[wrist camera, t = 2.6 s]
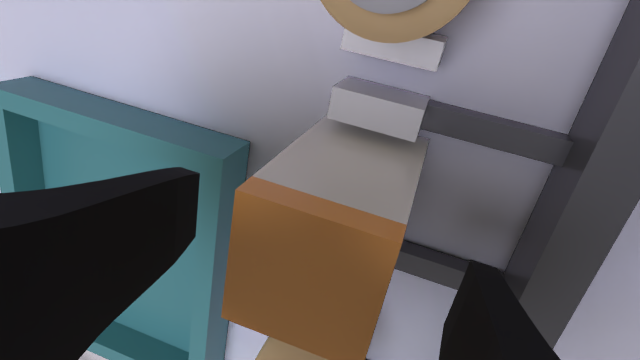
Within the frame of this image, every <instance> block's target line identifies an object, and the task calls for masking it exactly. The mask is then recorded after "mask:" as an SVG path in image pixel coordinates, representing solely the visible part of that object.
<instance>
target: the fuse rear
mask: <svg viewBox="0 0 640 360" xmlns="http://www.w3.org/2000/svg"><path fill="white" fill-rule="evenodd" d="M255 360H328V359H325V358H323V357H320V356H318V355H315V354H312V353H310V352H307V351H305V350H302V349H300V348H297V347H295V346H292V345H290V344H287V343H285V342H282V341H279V340H277V339H274V338H272V337H268V339H267V340H266V342H265V344H264V345H263V347H262V349H261V350H260V352H259V354H258V355H257V357H256V359H255Z"/></svg>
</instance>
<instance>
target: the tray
mask: <svg viewBox="0 0 640 360" xmlns="http://www.w3.org/2000/svg"><path fill="white" fill-rule="evenodd" d="M249 146H250V142H249V141H246V140H243V139H239V138H236V137H233V136H229V135H226V134H223V133H219V132H216V131H213V130H209V129H206V128H203V127H199V126H196V125H192V124H189V123H186V122H182V121H179V120H176V119H172V118H169V117H166V116H162V115H159V114H156V113H152V112H149V111H146V110H142V109H139V108H136V107H132V106H129V105H126V104H122V103H119V102H116V101H112V100H109V99H106V98H102V97H99V96H96V95H92V94H89V93H86V92H82V91H79V90H76V89H72V88H69V87H66V86H62V85H59V84H56V83H52V82H49V81H46V80H42V79H39V78H36V77H32V76H29V77H24V78H18V79H12V80H7V81H1V82H0V189H1V193H9V192H20V191H31V190H40V189H49V188H56V187H63V186H69V185H75V184H81V183H87V182H93V181H100V180H105V179H110V178H115V177H121V176H126V175H131V174H136V173H141V172H147V171H152V170H158V169H164V168H172V167H182V168H185V169H188V170H192V171H195V172H198V173H200V181H199V196H198V210H197V225H196V237H195V238H194V240H193V241H192V242H191V244H190V245H189V246H188V247H187V249H186V250H185V251H184V253H183V254H182V255H181V256H180V257H179V259H178V260H177V261H176V262H175V264H174V265H173V266H172V267H170V268H169V269H168V270H167V271H166V272H165V273H164V274H163V275H162V276H161V277H160V278H159V279H158V280H157V281H156V282H155V283H154V284H153V285H152V286H151V287H149V288H148V289H147V290H146V291H145V292H144V293H143V294H142V295H141V296H140V297H139V298H138V299H137V300H136V301H134V302H133V303H132V304H131V305H130V306H129V307H128V308H127V309H126V310H125V311H124V312H123V313H122V314H120V315H119V316H118V317H117V318H116V319H115V320H114V321H113V322H112V323H111V324H110V325H109V326H108V327H107V328H106V329H105V330H104V331H103V332H102V333H101V334H100V335H99V336H98V337H97V339H96V340H95V341H94V342H93V343H92V344H91V345H90V347H89V348H88V349H87V350H88V351H90V352H93V353H95V354H97V355H99V356H102V357H104V358H106V359H109V360H224V354H225V346H226V338H227V329H228V321H229V320H226V319H224V318H221V313H222V304H223V295H224V286H225V278H226V269H227V260H228V251H229V242H230V233H231V224H232V215H233V206H234V197H235V189H237V188H238V187H239V186H240V185H241V184H243V183H244V182H245V179H246V171H247V163H248V154H249Z"/></svg>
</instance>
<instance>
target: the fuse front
mask: <svg viewBox="0 0 640 360" xmlns="http://www.w3.org/2000/svg"><path fill="white" fill-rule="evenodd" d="M469 1H470V0H321V2H322V4H323V5H324V7H325V8H326V10H327V11H328V12H329V14H330V15H331V16H332V17H333V18H334V19H335V20H336V21H337V22H338V23H339V24H340V25H342V26H343V27H344V28H345V29H347V30H348V31H350V32H352V33H353V34H355V35H357V36H359V37H362V38H364V39H367V40H371V41H375V42H381V43H402V42H408V41H412V40H416V39H419V38H422V37H424V36H427V35H429V34H431V33H433V32H435V31H437V30H438V29H440V28H442V27H443V26H444V25H446V24H447V23H448V22H450V21H451V20H452V19H453V18H454V17H455V16H456V15H458V14H459V13H460V12H461V10H462V9H463V8H464V7H465V6H466V5H467V3H468V2H469Z"/></svg>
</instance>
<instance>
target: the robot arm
mask: <svg viewBox="0 0 640 360" xmlns="http://www.w3.org/2000/svg"><path fill="white" fill-rule="evenodd" d="M199 181H200V173H198V172H195V171H192V170H188V169H185V168H182V167H172V168H164V169H158V170H152V171H147V172H141V173H136V174H131V175H126V176H121V177H115V178H110V179H105V180H100V181H93V182H87V183H81V184H75V185H69V186H63V187H56V188H49V189H40V190H31V191H20V192H9V193H0V360H78V359H79V358H80V357H81V356H82V355H83V353H84V352H85V351H86V350H87V349H88V348H89V347H90V345H91V344H92V343H93V342H94V341H95V340H96V339H97V337H98V336H99V335H100V334H101V333H102V332H103V331H104V330H105V329H106V328H107V327H108V326H109V325H110V324H111V323H112V322H113V321H114V320H115V319H116V318H117V317H118V316H119V315H120V314H122V313H123V312H124V311H125V310H126V309H127V308H128V307H129V306H130V305H131V304H132V303H133V302H134V301H136V300H137V299H138V298H139V297H140V296H141V295H142V294H143V293H144V292H145V291H146V290H147V289H148V288H149V287H151V286H152V285H153V284H154V283H155V282H156V281H157V280H158V279H159V278H160V277H161V276H162V275H163V274H164V273H165V272H166V271H167V270H168V269H169V268H170V267H172V266H173V265H174V264H175V262H176V261H177V260H178V259H179V257H180V256H181V255H182V254H183V253H184V251H185V250H186V249H187V247H188V246H189V245H190V244H191V242H192V241H193V240H194V238H195V237H196V225H197V210H198V196H199ZM439 360H560V359H559V357H558V356H557V355H556V353H555V352H554V351H553V350H552V348H551V347H550V346H549V344H548V343H547V342H546V340H545V339H544V337H543V336H542V335H541V333H540V332H539V330H538V329H537V328H536V326H535V325H534V323H533V322H532V320H531V319H530V317H529V316H528V315H527V313H526V312H525V310H524V309H523V307H522V306H521V304H520V302H519V301H518V299H517V298H516V296H515V295H514V293H513V292H512V290H511V289H510V287H509V285H508V284H507V282H506V281H505V279H504V278H503V276H502V275H501V273H500V272H499V270H498V269H497V268H495V267H492V266H488V265H485V264H482V263H479V262H476V261H473V260H470V262H469V265H468V267H467V270H466V272H465V275H464V277H463V279H462V282H461V284H460V287H459V289H458V292H457V294H456V296H455V299H454V301H453V304H452V306H451V309H450V311H449V313H448V316H447V318H446V321H445V323H444V327H443V334H442V341H441V348H440V355H439Z"/></svg>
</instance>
